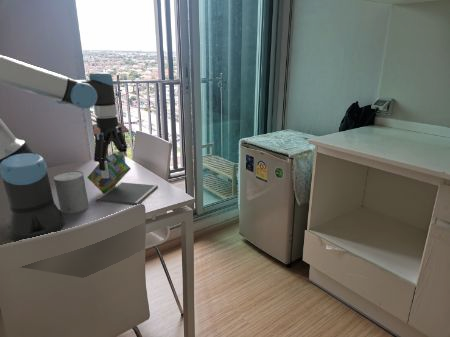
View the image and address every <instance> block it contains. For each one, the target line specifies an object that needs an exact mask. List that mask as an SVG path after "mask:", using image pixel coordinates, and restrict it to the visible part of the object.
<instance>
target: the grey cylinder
mask: <svg viewBox="0 0 450 337" xmlns="http://www.w3.org/2000/svg"><path fill="white" fill-rule="evenodd" d="M84 176H85V175H84V172H83V171H80V170H70V171H65V172H64V171H63V172H61V173H58V174H56V175H55V176H53V181H54V185H55V190H56V191H55V192H56V195H57V200H58V205H59V211H60V213H61V214H67V215H68V214H69V215H70V214H76V213H79V212H82V211H86V210H87V209H88V208H89V206H90V204H89V199H88V192H87V187H86V181H85V177H84Z"/></svg>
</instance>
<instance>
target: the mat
mask: <svg viewBox="0 0 450 337" xmlns="http://www.w3.org/2000/svg"><path fill="white" fill-rule="evenodd" d="M158 188H159V186H158V185H157V184H145V183H133V182H132V183H131V182H123V181H119V182H118V183H117V184H116V185H115V186H114V187H113V188H111V189H110V190H109V191H107V192H106V193H104V194H103V193H102V194H101V195H100V196H98V197H97V198H96V199H95V200H96V202H105V203H106V202H107V203H114V204H124V205H132V206H133V205H134V206H137V205H136V204H138V205H139V204H141V203H142V202H143V201H144V200H145V199H146V198H148V197H149V195H151V194H152V193H153V192H154V191H156V190H157V189H158Z"/></svg>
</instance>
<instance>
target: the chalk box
mask: <svg viewBox="0 0 450 337" xmlns="http://www.w3.org/2000/svg"><path fill="white" fill-rule="evenodd" d="M123 156H124V155H122V156H120V157H119V156H118V155H117V152H114V153H112V154H110V155H108V156H106V159H105V161H107V165H108V172H109V178H102V176H101V170H100V166H99V163H98V164H97V165H96V166H95V168H94V169H93V170H92V171H91V172H90V174H89V175H88V176H87V179H88V180H89V181H90V182H91V183H92V184H93V185H94V186H95V187H96V188H97V189H98V190H99V191H100V192H101V193H102V194H104V193H106V192H107V191H109V190H110V189H111V188H113V187H114V186H116V185H117V184H119V183H120V182H121V180H122V179H123V178H124V177H125V176H126V175H127V173H128V172H130V171H131V169H132V168H131V167H130V166H129V165H128V164H127V163H126V161H125V162H124V161H123V160H122V158H123Z"/></svg>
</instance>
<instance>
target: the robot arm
mask: <svg viewBox="0 0 450 337" xmlns="http://www.w3.org/2000/svg"><path fill="white" fill-rule="evenodd" d="M113 81H114V80H113V76H112V74H111V73H110V72H91V73H89V77H88V78H86V79H74V78H71V77H67V76H64V75H62V74H59V73H56V72H53V71H50V70H47V69H44V68H42V67H37V66H34V65H32V64H29V63H26V62H23V61H19V60H17V59H14V58H11V57H8V56H5V55H2V54H0V85H2V86H7V87H9V88H13V89H16V90H20V91H23V92H25V93H26V92H27V93H31V94H33V95H37V96H41V97H44V98H48V99H51V100H55V101H56V103H57V104H59V105H62V104H63V105H64V104H65V105H68V104H69V105H72V106H74V107H76V108H79V109H90V108H92V107H93V108H94V112H95V113H94V114H95V117H96V118H95V120H96V121H95V122H96V126H97V127H96V128H98V129H99V133H95V134H94V140H95V142H94V156H93V161H94V162H95V163H97V162H98V164H99V166H100V170H101V176H102V178H109V172H108V165H107V161H105V159H106V157H107V154H108V151H109V150H108V149H109V146H110V144H111V143H113V144H114V146H115V148H116V149H117V152H116V154H117V155H118V156H119V157H120V156H122V155H124V156H123V158H122V160H123V161H124V162H125V163H126V156H125V152H127V151H128V144H127V142H126V139H125V137H124V133H123V131H122V130H123V129H122V126H119V120H118V119H119V118H118V116H117V115H118V110H117V104H116V97H115V85H114V82H113ZM47 165H48V164H47V163H46V161H45V158H44V157H43V156H42V155H40V154H37V153H36V152H34V150H33V149H32V148H31V147H30V145H29V144H28V143H27V142H26V141H25V140H24V139H22V138H21V139H20V138H17V137H16V136H15V135H14V134H13V132H11V130H10V129H9V127H8V126H7V125H6V124H5V122H4V121H3V120H2V118H0V177H1V180H2V183H3V186H4V190H5V195H6V199H7V202H8V206H9V209H10V223H9V226H8V233H9V237H10V239H12V240H14V241H15V242H17V241H16V240H22V239H27V238H32V237H36V236H40V235H44V234H48V233H51V232H56V231H58V232H59V231H60V230H62V229H63V228H64V226H65V219H64V216H63V213H62V212H61V211H60V208H59V207H58V206H57V205H56V203H55V201H54V196H53V192H52V189H51V188H52V187H51V183H50V177H49V173H48V166H47ZM56 233H57V232H56Z"/></svg>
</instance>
